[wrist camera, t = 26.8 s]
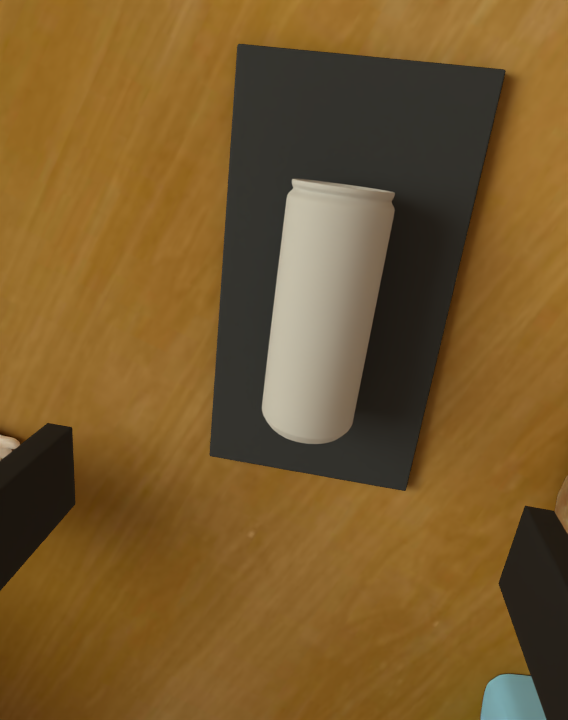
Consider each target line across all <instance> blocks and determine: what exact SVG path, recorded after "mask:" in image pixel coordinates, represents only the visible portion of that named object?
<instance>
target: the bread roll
mask: <svg viewBox="0 0 568 720" xmlns="http://www.w3.org/2000/svg"><path fill="white" fill-rule="evenodd" d="M555 514H556V515H557V517H558V519H559V520H560V522H561V524H562V525H563V527H564V529H565V530H566V532H567V534H568V475H567V477H566V478H565V480H564V482H563V485H562V487H561V489H560V491H559V493H558V496H557V501H556V507H555Z"/></svg>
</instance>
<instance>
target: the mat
mask: <svg viewBox="0 0 568 720" xmlns="http://www.w3.org/2000/svg"><path fill="white" fill-rule="evenodd" d="M505 72H506V71H505V70H503V69H493V68H483V67H473V66H462V65H452V64H442V63H431V62H421V61H411V60H401V59H390V58H380V57H370V56H359V55H349V54H339V53H328V52H318V51H308V50H298V49H287V48H277V47H267V46H256V45H246V44H238V46H237V60H236V75H235V89H234V104H233V119H232V133H231V148H230V163H229V178H228V192H227V207H226V222H225V236H224V251H223V266H222V280H221V295H220V310H219V325H218V339H217V354H216V369H215V383H214V398H213V413H212V427H211V442H210V456H213V457H218V458H224V459H230V460H235V461H241V462H246V463H252V464H258V465H263V466H269V467H274V468H280V469H285V470H291V471H297V472H302V473H308V474H313V475H319V476H325V477H330V478H336V479H341V480H347V481H353V482H358V483H364V484H369V485H375V486H380V487H386V488H392V489H397V490H403V491H405V490H406V487H407V483H408V479H409V475H410V471H411V466H412V462H413V458H414V454H415V450H416V445H417V441H418V437H419V433H420V429H421V424H422V420H423V416H424V412H425V408H426V403H427V399H428V395H429V391H430V387H431V382H432V378H433V374H434V370H435V366H436V361H437V357H438V353H439V349H440V345H441V340H442V336H443V332H444V328H445V324H446V319H447V315H448V311H449V307H450V303H451V298H452V294H453V290H454V286H455V282H456V278H457V273H458V269H459V265H460V261H461V257H462V252H463V248H464V244H465V240H466V236H467V231H468V227H469V223H470V219H471V215H472V210H473V206H474V202H475V198H476V194H477V189H478V185H479V181H480V177H481V173H482V168H483V164H484V160H485V156H486V152H487V147H488V143H489V139H490V135H491V131H492V126H493V122H494V118H495V114H496V110H497V105H498V101H499V97H500V93H501V89H502V84H503V80H504V76H505ZM292 179H306V180H315V181H323V182H331V183H338V184H346V185H353V186H360V187H367V188H373V189H379V190H385V191H391V192H394V193H395V196H394V198H393V200H392V205H393V206H394V209H395V211H394V217H393V222H392V227H391V232H390V237H389V242H388V247H387V252H386V257H385V262H384V267H383V272H382V277H381V282H380V287H379V292H378V297H377V303H376V308H375V313H374V318H373V323H372V328H371V333H370V338H369V343H368V348H367V353H366V358H365V363H364V368H363V373H362V378H361V383H360V388H359V393H358V398H357V403H356V408H355V413H354V418H353V423H352V426H351V428H350V429H349V431H348V432H347V433H345V434H344V435H343V436H341V437H340V438H338V439H336V440H335V441H332V442H328V443H323V444H306V443H300V442H295V441H293V440H290V439H287V438H285V437H283V436H281V435H280V434H278V433H277V432H276V431H274V430H273V429H272V428H271V426H270V425H269V424H268V422H267V421H266V419H265V417H264V415H263V412H262V401H263V393H264V384H265V375H266V366H267V357H268V349H269V340H270V332H271V323H272V315H273V307H274V298H275V290H276V282H277V274H278V265H279V257H280V249H281V241H282V232H283V224H284V216H285V208H286V200H287V195H288V193H289V192H290V191H291V190H292V189H293V185H292Z"/></svg>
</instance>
